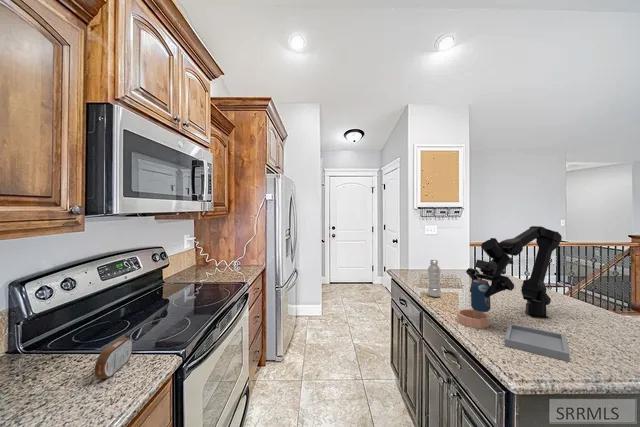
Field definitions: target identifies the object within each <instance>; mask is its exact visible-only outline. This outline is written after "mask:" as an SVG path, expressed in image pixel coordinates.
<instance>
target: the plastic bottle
mask: <svg viewBox="0 0 640 427" xmlns="http://www.w3.org/2000/svg"><path fill="white" fill-rule="evenodd" d="M438 262H439V261H438V260H437V259H430V262H429V263H430V265H429V266H428V268H427V274H428V275H427V276H428V289H427V293H428V296H430V297H432V298H438V297H439V298H440V296H441V295H442V290H441V284H440V280H441V279H440V278H441V277H440V276H441V268H440V266H439V265H438V264H439V263H438Z"/></svg>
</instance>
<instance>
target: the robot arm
mask: <svg viewBox="0 0 640 427" xmlns="http://www.w3.org/2000/svg"><path fill="white" fill-rule="evenodd" d="M534 240H535V241H536V244H537V245H536V246H537V248H538V249H537V252H536V257H535V258H534V259H535V261H534V263H533V266H532V269H531V270H532V271H531V274H530V277H529V278H528V279H523V281H522V284H521V288H520V290H521V291H520V292H521V295H522V298H523V300H525V301H526V303H525V311H524V312H525V314H527V315H528V316H530V317H531V318H541V319H543V318H544V319H549V316H548V315H547V306H549V305H550V304H551V302H552V301H551V300H552V299H551V297H550V296H549V295H548V294H547V286H546V283H545V278H546V275H547V272H548V268H549V264H550V261H551V257H552V254H553V252H554V251H555V250H556V249H557V248H558V247H559V246H560V243H561V241H562V235H561V234H560V233H559V231H555V230H551V229H548V228H546V227H544V226H541V225H540V226H539V225H538V226H537V225H533V226H530V227H529V228H528V229H526V230H524V231H522V232H521V233H520V234H517V235H516V236H515V237H513V238H507V239H504V240H501V241H500V242H499V241H498V240H497V238H496V237H494V238H493V237H491V238H489V239H487V240H485V241H484V242H482V244H481V249H482V250H483V252H484V253H485V254H486V255H487V256H488V257H489V258H490V259H491V260H488V261H486V260H480V259H476V261H475V262H476V263H475V265H474V267H475V268H477V269H475V268H472V267H469V268H467V269H466V270H465V274H467V275H468V276H469V278H470V279H471V282H470V284H471V283H472V282H473V281H472V280H475V279H480V280H486V281H488V282H489V281H490V282H491V283H490V287H489V289H488V290H487V292H486V294H485V297H486V298H487V297H489V296H490V297H491V296H493V295H495V294H498V293H501V292H502V291H506V290H508V291H513V290H514V288H515V283H514V282H513V281H512V280H511V279H510V278H509V276H506V275H505V274H506V271H505V269H506V268H507V266H508V265H514V260H513V258H512V257H510V256H515V257H516V256H518V255H520V253H522V251H523V250H524V247H525V246H527V245H528V244H530V243H531V242H533V241H534ZM478 269H479V270H480V272H481V273H480V272H479V270H478ZM469 292H470V293H471V286H470V287H469Z"/></svg>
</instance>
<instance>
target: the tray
mask: <svg viewBox="0 0 640 427" xmlns="http://www.w3.org/2000/svg"><path fill="white" fill-rule="evenodd" d="M505 332H506V334H505V337H504V347H508V348H510V349H511V348H513V349H516V350H520V351H525V352H528V353H532V354H537V355H540V356H545V357H549V358H552V359H553V358H554V359H557V360H561V361H564V362H570V350H569V347H568V341H567V337H566V334H565V333H560V332H556V331H551V330H546V329H540V328H535V327H530V326H524V325H521V324H516V323H511V322H508V325H507V329H506V331H505Z"/></svg>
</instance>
